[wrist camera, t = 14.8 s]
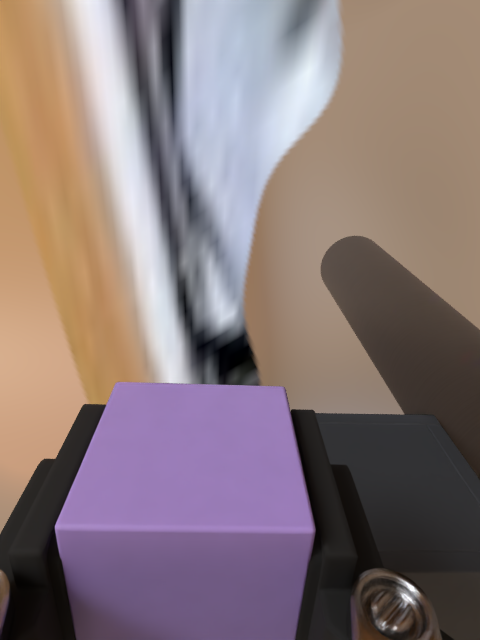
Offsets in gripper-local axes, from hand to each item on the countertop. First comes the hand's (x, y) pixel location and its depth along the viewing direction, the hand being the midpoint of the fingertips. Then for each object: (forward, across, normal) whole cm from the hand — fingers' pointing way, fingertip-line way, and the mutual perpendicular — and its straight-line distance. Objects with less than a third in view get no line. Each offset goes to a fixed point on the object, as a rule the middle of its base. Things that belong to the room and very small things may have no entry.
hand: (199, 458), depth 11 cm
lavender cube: (0, 0, 0) cm, 0 cm away
